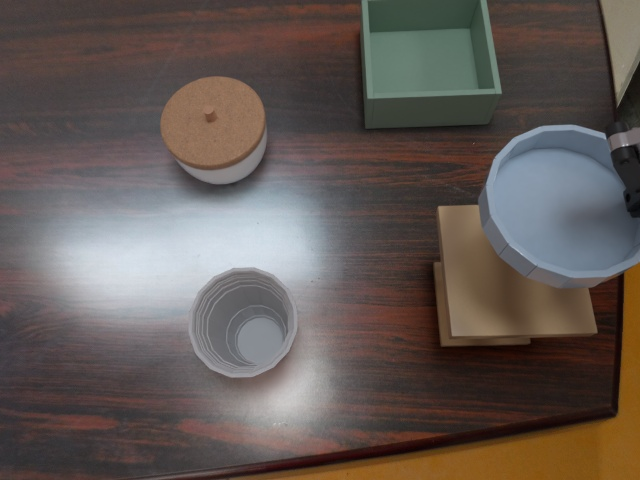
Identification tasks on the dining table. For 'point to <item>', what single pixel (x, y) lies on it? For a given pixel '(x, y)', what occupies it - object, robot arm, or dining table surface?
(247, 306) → the plastic cup
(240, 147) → the lidded bowl
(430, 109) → the tub
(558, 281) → the light blue shallow dish
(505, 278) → the stand
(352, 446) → the dining table surface
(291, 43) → the dining table surface
